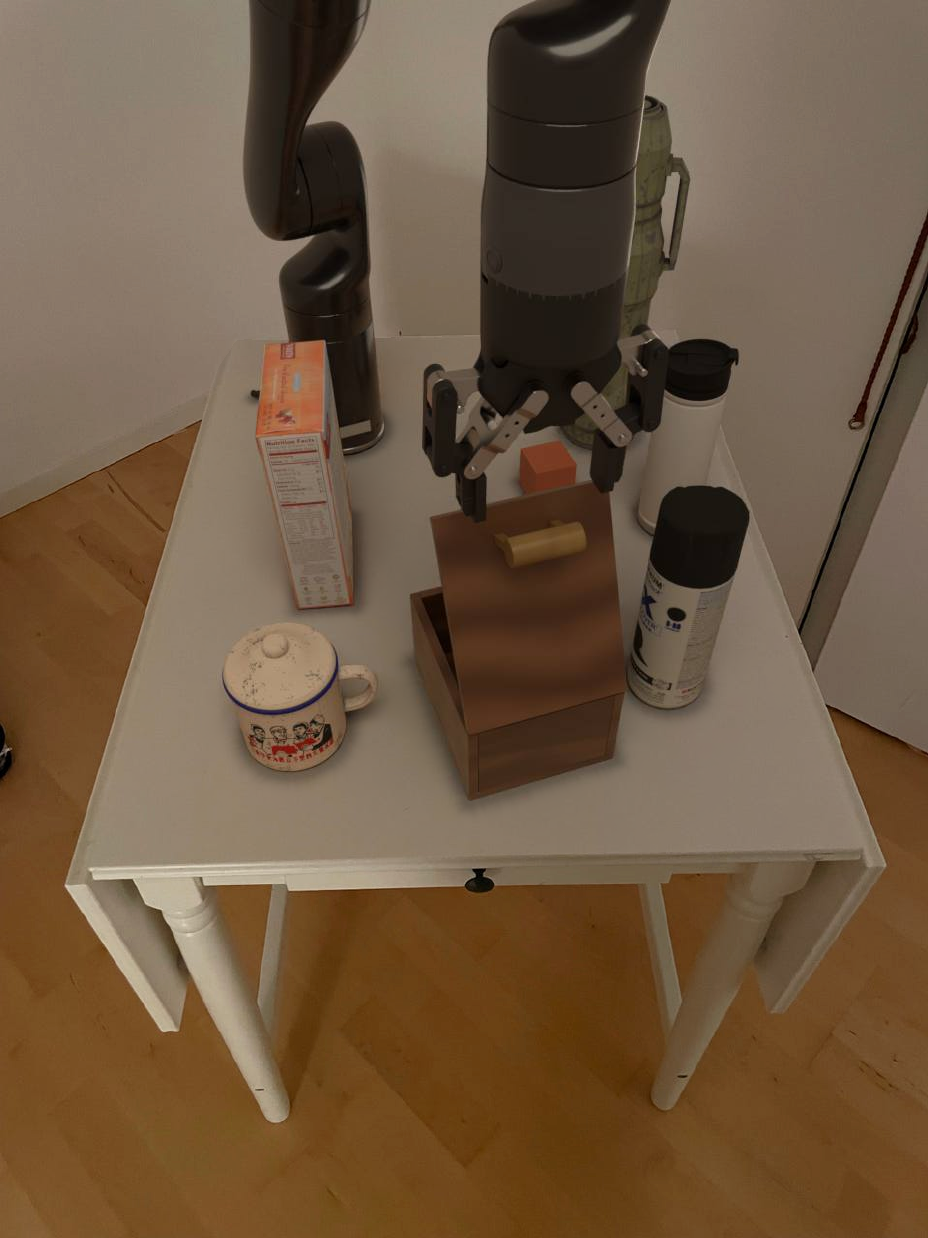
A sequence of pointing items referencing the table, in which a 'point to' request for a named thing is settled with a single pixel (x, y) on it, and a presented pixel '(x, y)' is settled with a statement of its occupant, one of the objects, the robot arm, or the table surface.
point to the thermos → (644, 245)
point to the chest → (516, 746)
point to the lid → (532, 604)
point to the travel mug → (686, 422)
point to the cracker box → (306, 472)
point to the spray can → (685, 592)
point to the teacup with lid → (291, 694)
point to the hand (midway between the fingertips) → (538, 499)
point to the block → (546, 467)
